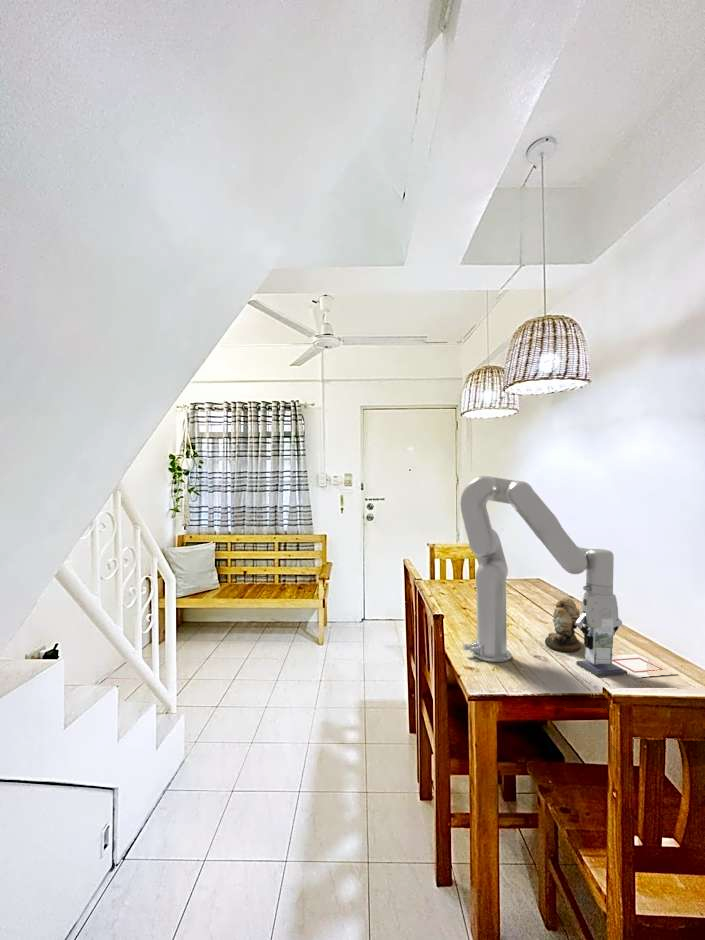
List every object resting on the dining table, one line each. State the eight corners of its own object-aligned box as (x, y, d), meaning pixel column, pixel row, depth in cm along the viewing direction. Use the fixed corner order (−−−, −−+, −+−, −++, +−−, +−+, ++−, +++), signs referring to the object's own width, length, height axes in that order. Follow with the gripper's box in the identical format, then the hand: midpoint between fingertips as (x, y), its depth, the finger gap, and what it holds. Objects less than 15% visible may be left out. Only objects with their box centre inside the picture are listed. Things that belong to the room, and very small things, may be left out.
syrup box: (602, 658, 156) (602, 612, 156) (612, 665, 150) (613, 617, 151) (584, 658, 156) (585, 612, 156) (594, 665, 150) (595, 617, 150)
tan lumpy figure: (545, 635, 187) (545, 590, 187) (579, 639, 182) (579, 593, 182) (544, 650, 170) (544, 600, 170) (582, 655, 165) (582, 604, 166)
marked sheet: (637, 678, 146) (637, 676, 146) (599, 657, 163) (599, 656, 163) (678, 674, 149) (678, 673, 149) (636, 654, 165) (636, 653, 165)
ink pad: (597, 676, 147) (597, 672, 147) (576, 664, 157) (576, 660, 157) (626, 674, 149) (626, 670, 149) (604, 662, 159) (604, 658, 159)
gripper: (581, 592, 148) (580, 653, 148) (632, 591, 151) (631, 650, 151) (566, 587, 156) (565, 644, 156) (615, 586, 159) (614, 642, 159)
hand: (598, 646), depth 153 cm, fingers closed on syrup box, 6 cm apart
